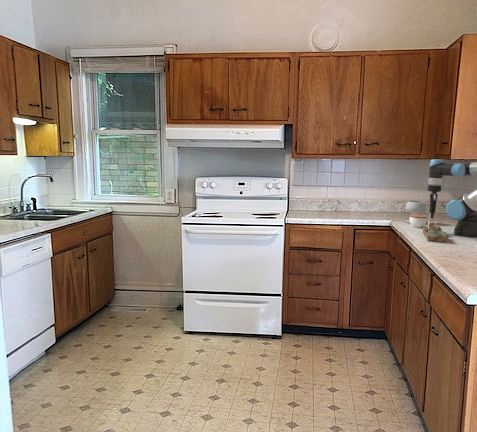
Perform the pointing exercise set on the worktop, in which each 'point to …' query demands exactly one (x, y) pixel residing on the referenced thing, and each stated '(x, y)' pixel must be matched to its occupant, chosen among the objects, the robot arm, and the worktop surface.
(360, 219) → the worktop surface
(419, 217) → the lidded jar
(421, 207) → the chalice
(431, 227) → the birch block
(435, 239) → the two-trap track
